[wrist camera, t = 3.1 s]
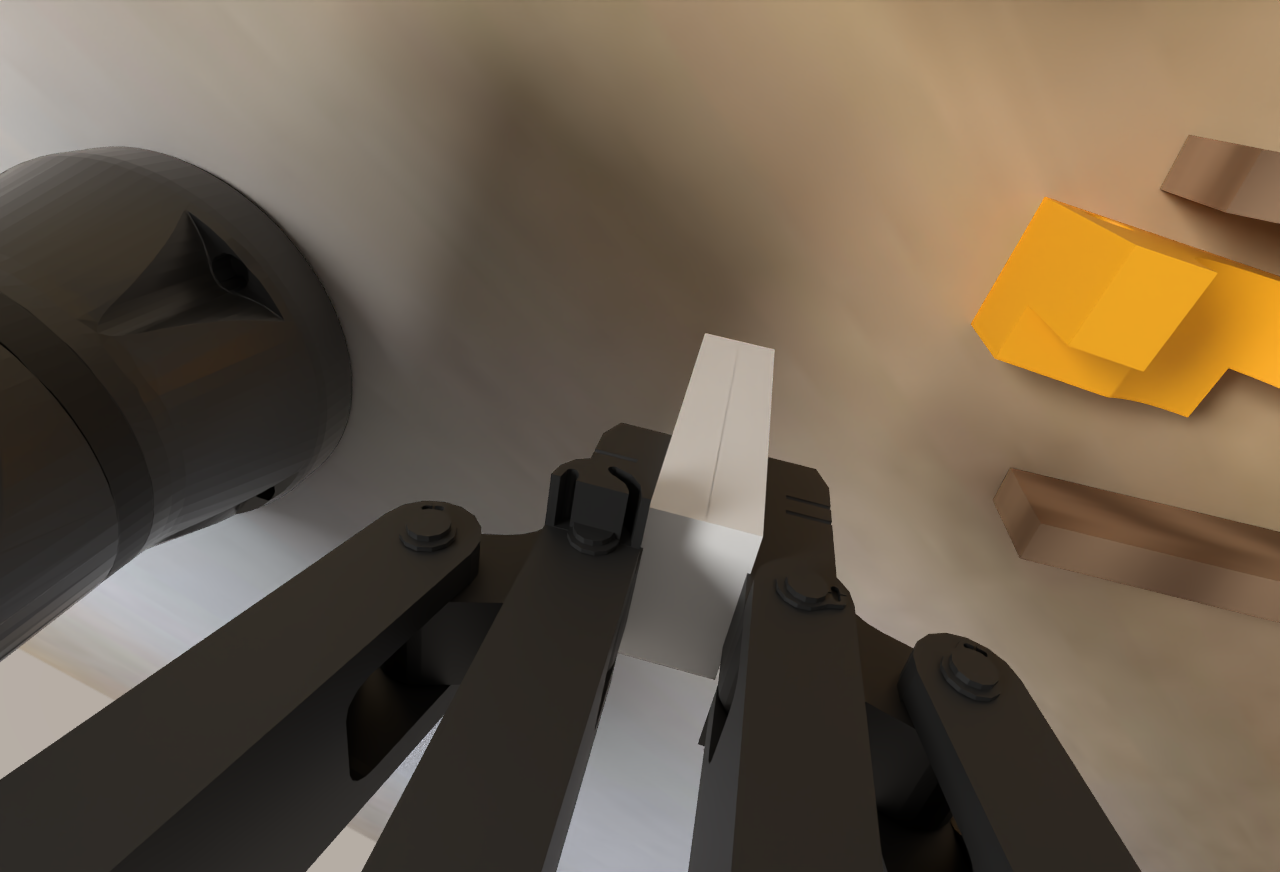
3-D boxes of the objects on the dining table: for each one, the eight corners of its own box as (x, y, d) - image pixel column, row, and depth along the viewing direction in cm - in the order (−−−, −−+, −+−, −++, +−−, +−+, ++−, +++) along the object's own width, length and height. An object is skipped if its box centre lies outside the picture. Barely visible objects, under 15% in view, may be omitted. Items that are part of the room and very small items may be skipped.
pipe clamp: (969, 322, 23) (1027, 405, 18) (1043, 195, 21) (1136, 244, 16) (1308, 439, 23) (1475, 560, 18) (1418, 323, 21) (1649, 419, 15)
